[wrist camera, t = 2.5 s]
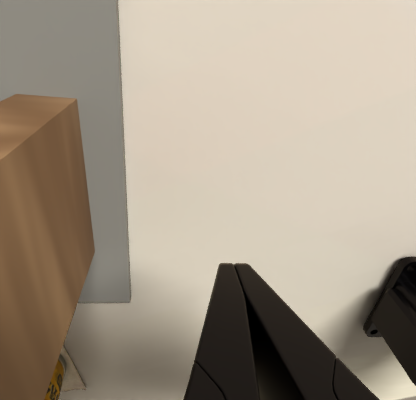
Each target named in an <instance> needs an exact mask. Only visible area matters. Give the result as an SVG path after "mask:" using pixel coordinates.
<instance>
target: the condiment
mask: <svg viewBox="0 0 416 400" xmlns="http://www.w3.org/2000/svg"><path fill="white" fill-rule="evenodd" d="M74 389H84V390H86V388H85V386H84V384H83V382H82V380H81V378H80V376H79V374H78V372H77V370H76V367H75V366H74V364H73V362H72V360H71V358H70V357H69V355H68V353H67V351H66V350H65V348H64V346H62V349H61V352H60V355H59V358H58V361H57V364H56V367H55V370H54V373H53V376H52V379H51V381H50V384H49V387H48V390H47V393H46V396H45V399H44V400H58V399H59V394H60V391H68V390H74Z"/></svg>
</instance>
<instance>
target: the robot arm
mask: <svg viewBox="0 0 416 400" xmlns="http://www.w3.org/2000/svg"><path fill="white" fill-rule="evenodd" d="M363 330H364V331H365V333H366V335H367V336H368V337H383V338H384V340H385V341H386V343H387V344H388V346H389V347H390V349H391V350H392V352H393V353H394V355H395V356H396V358H397V359H398V361H399V363H400V364H401V366H402V367H403V369H404V370H405V372H406V373H407V375H408V376H409V378H410V379H411V381H412V382H413V383H414V384H415V386H416V257H406V258H404V259H403V260H401V261H400V262H399V264H398V266H397V267H396V269H395V271H394V273H393V275H392V276H391V278H390V280H389V282H388V284H387V285H386V287H385V289H384V291H383V293H382V295H381V296H380V298H379V300H378V302H377V304H376V305H375V307H374V309H373V311H372V313H371V314H370V316H369V318H368V320H367V322H366V323H365V325H364V327H363ZM335 358H336V356H335V354H334V353H333V352H332V351H331V350H330V349H329V348H328V347H327V346H326V345H325V344H324V343H323V342H322V341H321V340H320V339H319V338H318V337H317V336H316V335H315V333H314V332H313V331H312V330H311V329H310V328H309V327H308V326H307V325H306V324H305V323H304V322H303V321H302V320H301V319H300V318H299V317H298V316H297V315H296V314H295V312H294V311H293V310H292V309H291V308H290V307H289V306H288V305H287V304H286V303H285V302H284V301H283V300H282V299H281V298H280V297H279V296H278V295H277V294H276V293H275V291H274V290H273V289H272V288H271V287H270V286H269V285H268V284H267V283H266V282H265V281H264V280H263V279H262V278H261V277H260V276H259V275H258V274H257V273H256V272H255V270H254V269H253V268H252V267H251V266H250V265H248V264H246V263H236V264H234V265H233V264H232V263H221V264H219V267H218V271H217V275H216V279H215V283H214V286H213V290H212V294H211V298H210V302H209V306H208V310H207V314H206V318H205V321H204V325H203V329H202V333H201V337H200V341H199V345H198V349H197V353H196V356H195V360H194V364H193V367H192V371H191V375H190V379H189V382H188V386H187V389H186V393H185V396H184V399H183V400H379V399H378V398H377V397H376V396H375V395H374V394H373V393H372V392H371V391H370V390H369V389H368V388H367V387H366V386H365V385H364V384H363V383H362V382H361V381H360V380H359V379H358V378H357V377H356V376H355V375H354V374H353V373H352V372H351V371H350V370H349V369H348V368H347V367H346V366H345V365H344V364H343V363H342V362H341V361H340V360H339V359H338V358H336V359H335Z"/></svg>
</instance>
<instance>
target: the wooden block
mask: <svg viewBox="0 0 416 400" xmlns="http://www.w3.org/2000/svg"><path fill="white" fill-rule="evenodd" d="M94 253H95V247H94V239H93V230H92V222H91V213H90V205H89V196H88V188H87V179H86V171H85V162H84V154H83V145H82V137H81V128H80V120H79V111H78V103H77V99H76V98H63V97H50V96H37V95H24V94H15V95H13V96H11V97H8V98H6V99H4V100H2V101H0V400H44V399H45V396H46V393H47V390H48V387H49V384H50V381H51V379H52V376H53V373H54V370H55V367H56V364H57V361H58V358H59V355H60V352H61V349H62V346H63V344H64V341H65V338H66V335H67V332H68V329H69V326H70V323H71V320H72V317H73V314H74V311H75V309H76V306H77V303H78V300H79V297H80V294H81V291H82V288H83V285H84V282H85V279H86V276H87V274H88V271H89V268H90V265H91V262H92V259H93V256H94Z"/></svg>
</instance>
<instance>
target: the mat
mask: <svg viewBox="0 0 416 400" xmlns="http://www.w3.org/2000/svg"><path fill="white" fill-rule="evenodd" d="M15 94H24V95H37V96H50V97H63V98H76V99H77V103H78V111H79V120H80V128H81V137H82V145H83V154H84V162H85V171H86V179H87V188H88V196H89V205H90V213H91V222H92V230H93V239H94V247H95V253H94V256H93V259H92V262H91V265H90V268H89V271H88V274H87V276H86V279H85V282H84V285H83V288H82V291H81V294H80V297H79V300H78V303H122V302H130V300H131V285H130V262H129V239H128V217H127V194H126V171H125V149H124V126H123V103H122V81H121V58H120V35H119V13H118V0H0V101H2V100H4V99H6V98H8V97H11V96H13V95H15Z"/></svg>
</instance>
